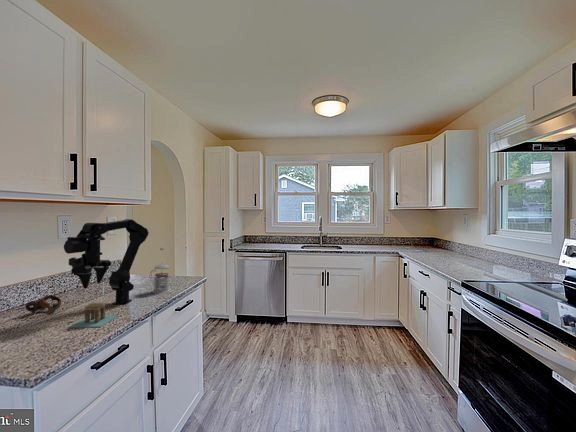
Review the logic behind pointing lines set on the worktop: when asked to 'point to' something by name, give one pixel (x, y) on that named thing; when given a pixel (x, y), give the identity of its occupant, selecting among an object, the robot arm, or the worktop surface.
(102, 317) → the brown u-shaped block
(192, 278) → the worktop surface
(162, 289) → the french press
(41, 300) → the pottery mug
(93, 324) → the mat
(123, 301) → the robot arm
